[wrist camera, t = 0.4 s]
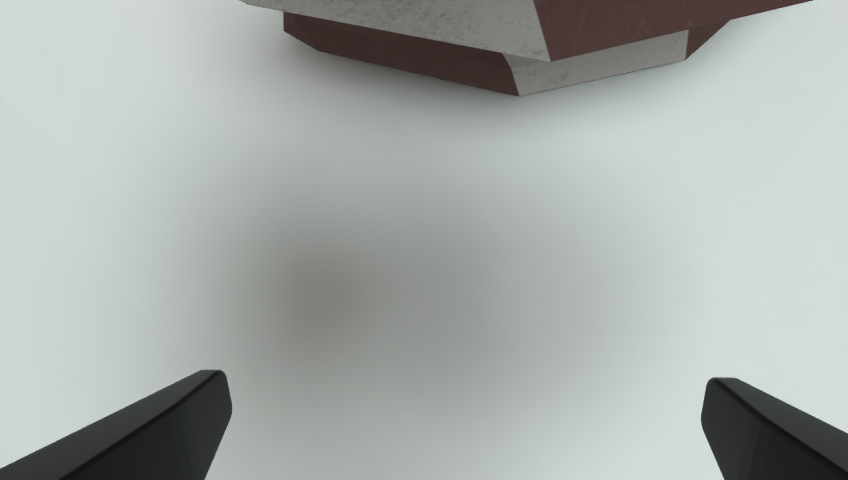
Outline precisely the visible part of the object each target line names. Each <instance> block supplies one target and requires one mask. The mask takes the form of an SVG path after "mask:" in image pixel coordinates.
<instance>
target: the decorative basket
mask: <svg viewBox="0 0 848 480" xmlns="http://www.w3.org/2000/svg"><path fill="white" fill-rule="evenodd" d="M240 1H242V2H244V3H246V4H248V5H253V6H258V7H263V8H269V9H274V10H279V11H283V13H284V31H285V32H287V33H288V34H290V35H292V36H294V37H295V38H297V39H299V40H301V41H302V42H304V43H306V44H307V45H309V46H311V47H313V48H314V49H316V50H318V51H321V52H325V53H330V54H334V55H339V56H343V57H348V58H352V59H356V60H361V61H365V62H370V63H374V64H379V65H383V66H387V67H392V68H396V69H401V70H405V71H409V72H414V73H418V74H423V75H427V76H432V77H436V78H440V79H445V80H449V81H454V82H458V83H463V84H467V85H471V86H476V87H480V88H485V89H489V90H494V91H498V92H502V93H507V94H511V95H516V96H523V95H528V94H532V93H537V92H541V91H546V90H551V89H555V88H560V87H564V86H569V85H573V84H578V83H583V82H587V81H592V80H596V79H601V78H605V77H610V76H615V75H619V74H624V73H628V72H633V71H637V70H642V69H647V68H651V67H656V66H660V65H665V64H669V63H674V62H678V61H683V60H686V59H687V58H688V57H689V56H690V55H691V54H693V53H694V52H695V51H696V50H697V49H698V48H699V47H700V46H701V45H703V44H704V43H705V42H706V41H707V40H708V39H709V38H710V37H712V36H713V35H714V34H715V33H716V32H717V31H718V30H719V29H721V28H722V27H723V26H724V25H725V24H726V23H727V22H728V21H729V20H731V19H736V18H740V17H744V16H748V15H753V14H757V13H761V12H765V11H770V10H774V9H778V8H782V7H787V6H791V5H795V4H799V3H804V2H808V1H812V0H240Z"/></svg>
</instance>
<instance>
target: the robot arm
mask: <svg viewBox="0 0 848 480" xmlns="http://www.w3.org/2000/svg"><path fill="white" fill-rule="evenodd" d="M231 414H232V402H231V397H230V392H229V387H228V382H227V378H226V375H225V373H224V372H223V371H221V370H200V371H198V372H196V373H194V374H192V375H190V376H188V377H186V378H184V379H182V380H180V381H178V382H176V383H174V384H172V385H170V386H168V387H166V388H164V389H161V390H159V391H157V392H155V393H153V394H151V395H149V396H147V397H145V398H143V399H141V400H139V401H137V402H135V403H133V404H131V405H129V406H127V407H125V408H123V409H121V410H119V411H117V412H115V413H113V414H111V415H109V416H107V417H105V418H102V419H100V420H98V421H96V422H94V423H92V424H90V425H88V426H86V427H84V428H82V429H80V430H78V431H76V432H74V433H72V434H70V435H68V436H66V437H64V438H62V439H60V440H58V441H56V442H54V443H52V444H50V445H48V446H46V447H43V448H41V449H39V450H37V451H35V452H33V453H31V454H29V455H27V456H25V457H23V458H21V459H19V460H17V461H15V462H13V463H11V464H9V465H7V466H5V467H3V468H1V469H0V480H205V478H206V475H207V473H208V470H209V468H210V466H211V463H212V461H213V459H214V456H215V454H216V451H217V449H218V447H219V444H220V442H221V440H222V437H223V435H224V433H225V430H226V428H227V425H228V423H229V421H230V418H231ZM701 423H702V428H703V431H704V433H705V436H706V438H707V440H708V443H709V445H710V447H711V450H712V452H713V454H714V457H715V459H716V461H717V464H718V466H719V468H720V471H721V473H722V475H723V478H724V480H848V433H846V432H844V431H842V430H840V429H838V428H836V427H834V426H832V425H830V424H828V423H826V422H824V421H822V420H820V419H818V418H815V417H813V416H811V415H809V414H807V413H805V412H803V411H801V410H799V409H797V408H795V407H793V406H791V405H789V404H787V403H785V402H783V401H781V400H779V399H777V398H775V397H773V396H771V395H769V394H767V393H765V392H763V391H761V390H759V389H757V388H755V387H753V386H751V385H749V384H747V383H745V382H743V381H741V380H739V379H737V378H720V377H714V378H711V379H710V380H709V381H708V383H707V386H706V391H705V396H704V402H703V407H702V413H701Z"/></svg>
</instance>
